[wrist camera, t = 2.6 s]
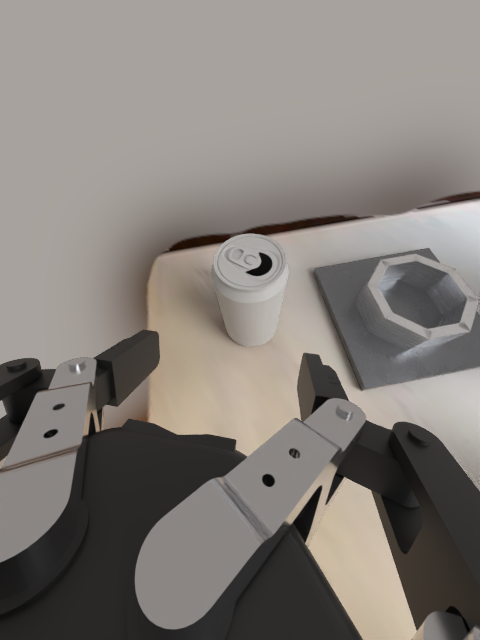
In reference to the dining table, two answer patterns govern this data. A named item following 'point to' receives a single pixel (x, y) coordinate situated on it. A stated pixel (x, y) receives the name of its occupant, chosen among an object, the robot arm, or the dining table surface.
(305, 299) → the dining table surface
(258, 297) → the beverage can
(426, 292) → the collar stand
